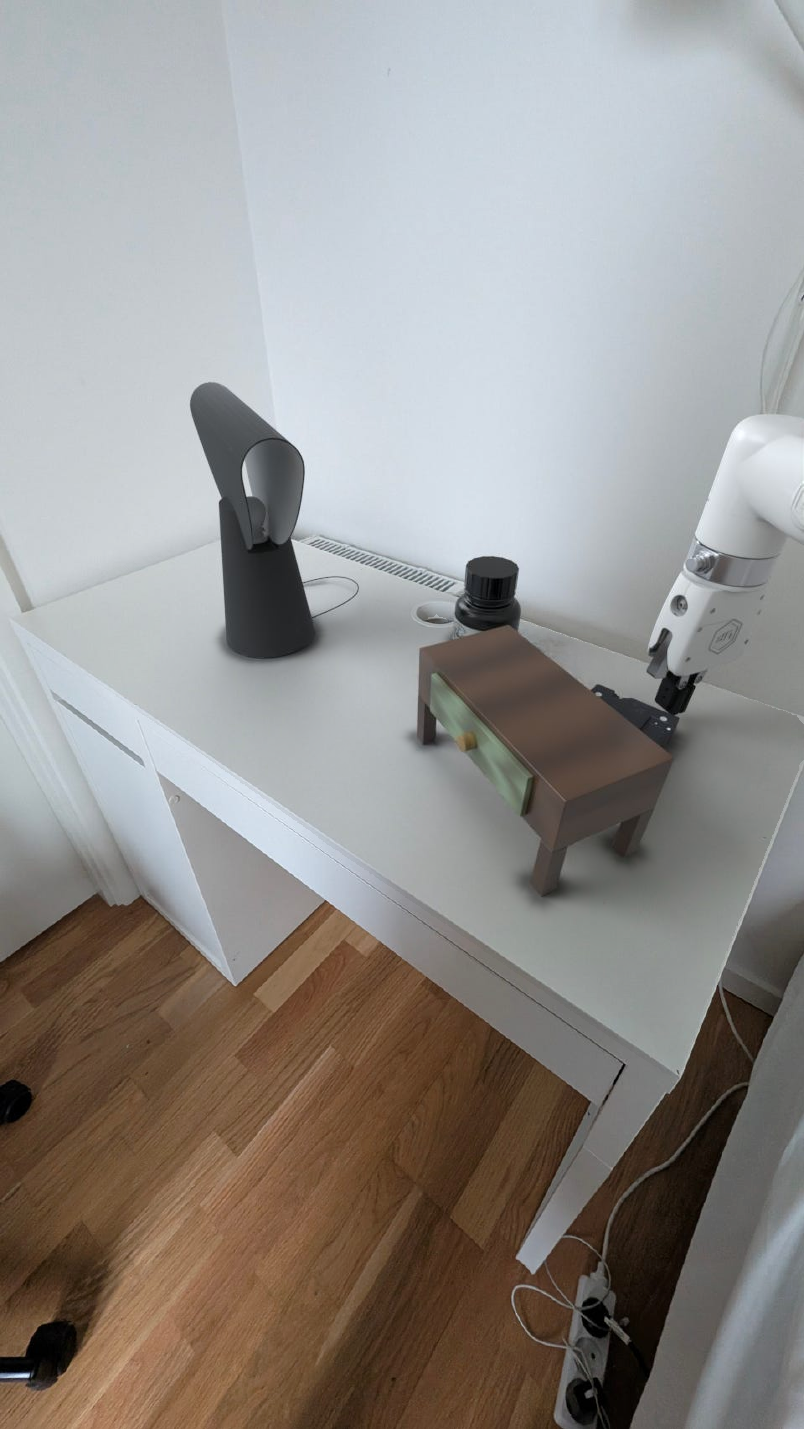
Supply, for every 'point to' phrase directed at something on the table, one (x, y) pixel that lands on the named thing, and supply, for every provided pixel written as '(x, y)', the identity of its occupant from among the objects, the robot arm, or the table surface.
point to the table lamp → (255, 525)
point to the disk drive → (641, 715)
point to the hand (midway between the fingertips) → (668, 707)
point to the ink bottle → (487, 597)
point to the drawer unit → (541, 743)
